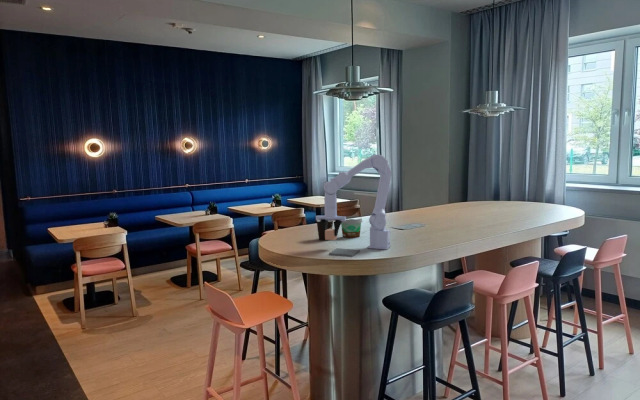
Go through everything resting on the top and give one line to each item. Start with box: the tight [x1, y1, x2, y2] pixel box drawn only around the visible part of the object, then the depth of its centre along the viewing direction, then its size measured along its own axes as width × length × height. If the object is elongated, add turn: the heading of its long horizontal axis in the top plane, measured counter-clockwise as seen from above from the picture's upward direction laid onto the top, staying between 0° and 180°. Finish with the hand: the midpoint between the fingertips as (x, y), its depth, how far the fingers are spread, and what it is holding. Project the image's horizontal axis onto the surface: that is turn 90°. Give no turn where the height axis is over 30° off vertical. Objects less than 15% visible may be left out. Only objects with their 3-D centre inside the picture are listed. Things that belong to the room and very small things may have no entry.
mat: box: [328, 247, 361, 257], centre depth 212 cm, size 11×11×1 cm
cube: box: [325, 228, 338, 241], centre depth 221 cm, size 4×4×4 cm
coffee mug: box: [316, 220, 334, 242], centre depth 245 cm, size 12×9×10 cm
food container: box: [340, 218, 363, 239], centre depth 250 cm, size 12×6×10 cm, turn 101°
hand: (331, 235), depth 221 cm, fingers closed on cube, 4 cm apart
